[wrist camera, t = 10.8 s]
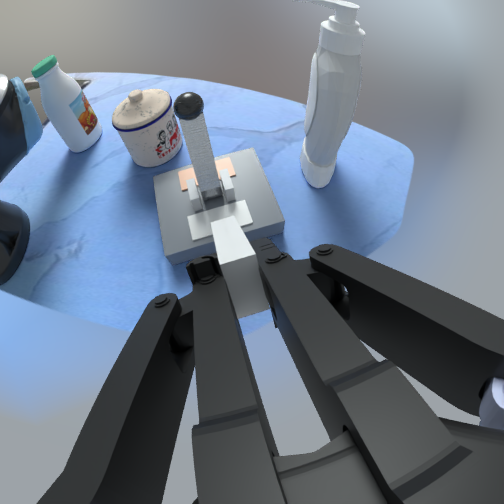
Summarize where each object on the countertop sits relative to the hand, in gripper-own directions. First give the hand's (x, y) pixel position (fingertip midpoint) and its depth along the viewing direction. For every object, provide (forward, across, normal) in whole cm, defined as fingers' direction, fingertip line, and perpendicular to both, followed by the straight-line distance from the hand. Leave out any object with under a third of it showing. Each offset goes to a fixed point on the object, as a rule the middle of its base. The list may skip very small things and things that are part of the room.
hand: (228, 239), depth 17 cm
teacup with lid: (+31, -6, +9) cm, 33 cm away
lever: (+16, 0, +1) cm, 16 cm away
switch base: (+19, 0, -2) cm, 19 cm away
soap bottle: (+22, +15, 0) cm, 26 cm away
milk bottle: (+38, -21, +16) cm, 46 cm away
